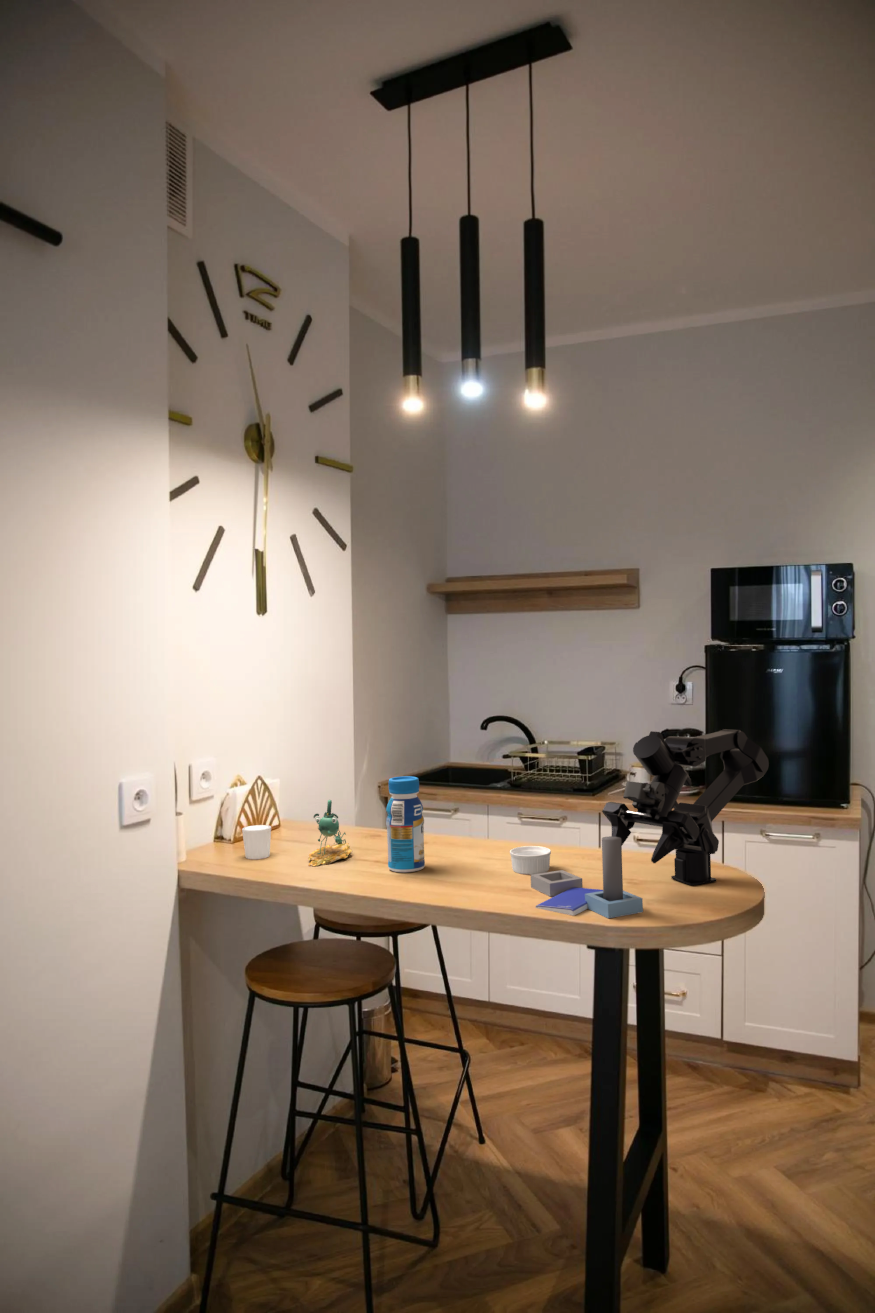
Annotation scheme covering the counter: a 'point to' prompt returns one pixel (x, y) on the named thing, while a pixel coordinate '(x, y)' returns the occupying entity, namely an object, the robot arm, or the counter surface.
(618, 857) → the plug
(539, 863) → the ramekin
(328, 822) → the frog figurine
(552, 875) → the grey square frame
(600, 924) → the counter surface
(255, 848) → the white short cylinder
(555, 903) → the blue book
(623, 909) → the blue bezel
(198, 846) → the counter surface
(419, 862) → the beverage bottle
